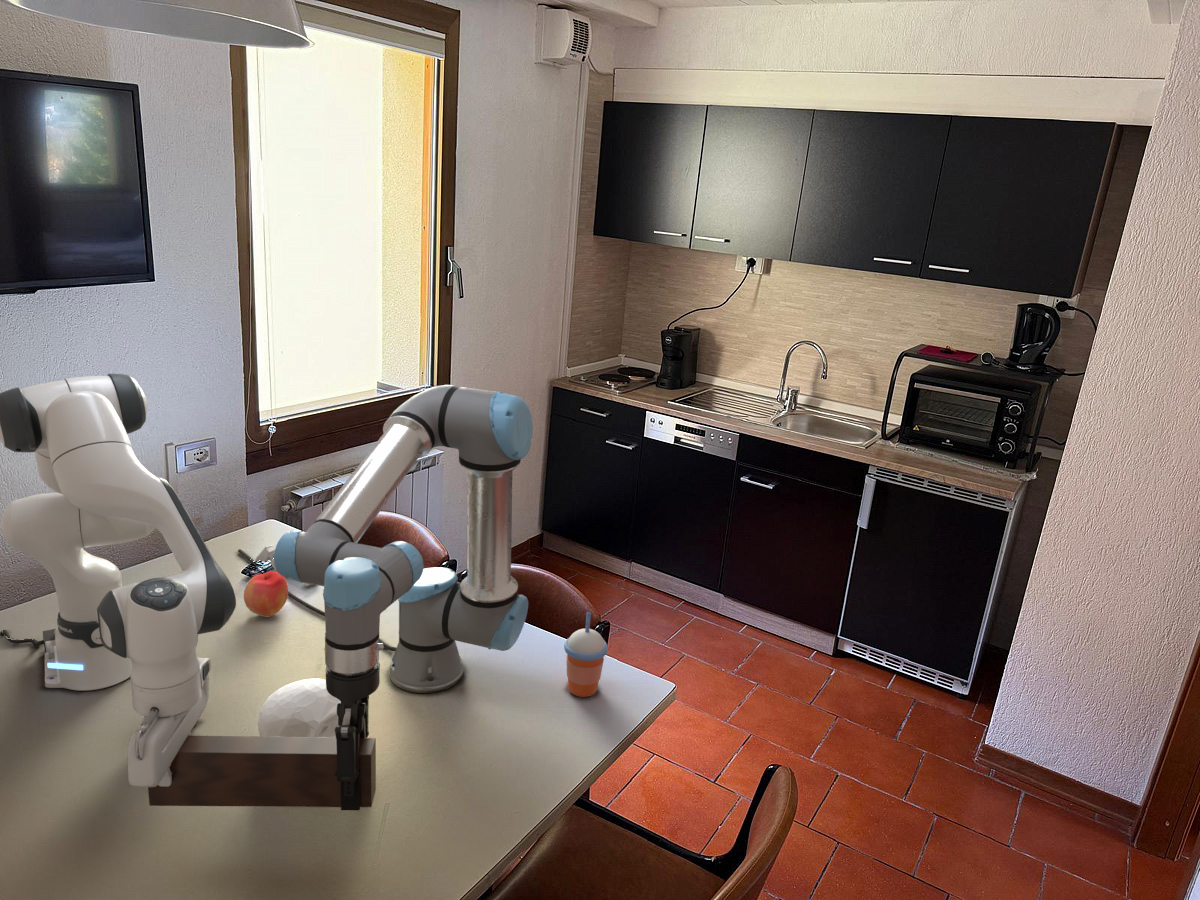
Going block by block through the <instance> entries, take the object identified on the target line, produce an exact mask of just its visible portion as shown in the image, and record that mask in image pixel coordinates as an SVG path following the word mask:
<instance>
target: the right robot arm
mask: <svg viewBox="0 0 1200 900" xmlns="http://www.w3.org/2000/svg"><path fill="white" fill-rule="evenodd" d="M533 426H534V425H533V417H532V412H531V410H530V407H529V405H528V403H526V401H525V400H524V399H523V398H522V397H520V396H518V395H514V394H509V393H506V392H504V391H494V390H487V389H478V388H470V387H465V386H464V387H463V386H458V385H453V384H444V385H436V386H433V387H430V388H427V389H425V390H422V391H421V392H418V393H417V394H414V395H413V396H411V397H410V398H409V399H407V400H405V402H403V403H401V404H400V405H399V406H398V407H397V408H396V409H395V410H393V412H392V413H391V414H390V415H389V417H388V418H387V420H386V421H385V422H384V424H383V426H382V432H383V434H382V435H381V436H380V437H379V439H378V440H377V441H376V443H375V444H374V445H373V446H372V448H371V449H369V451H368V453H367V454H366V455H365V457H364V458H363V459H362V460H361V462H360V463H359V464H358V466H357V467H356V468H355V469H354V470H353V472H352V473H351V474H350V475H349V477H348V478H347V479H346V481H345V482H344V483H343V485H342V486H341V487H340V488H339V490H338V491H337V492H336V494H335V495H334V496H333V497H332V499H331V500H330V501H329V503H328V504H327V505H326V506H325V508H323V510H322V511H321V513H320V514H319V515H318V517H317V518H316V519H315V521H313V523H312V524H311V525H310V526H309V527H308V529H307V530H306V531H304V530H295V529H293V530H290V531H288V532H285V533H284V534H282V535H281V537H280V538H279V540H278V541H277V543H276V544H275V545H276V548H275V552H274V559H273V560H274V565H275V567H276V570H277V572H278V573H279V574H280V575H282V576H284V577H285V578H287V579H289V580H293V581H296V582H299V583H301V584H304V583H310V584H311V585H314V586H315V585H316V586H320V587H323V590H322V598H323V602H324V603H323V604H324V605H323V606H324V610H321V609H319V608H317V607H315V606H313V605H311V604H310V603H308V602H306V601H304V600H303V599H301V598H300V597H297V595H295V594H293V593H292V592H291V591H289V590H288V597H289V598H291V599H292V600H294V601H295V602H297V603H299V604H300V605H302V606H304V607H305V608H307V609H308V610H310V611H312V612H314V613H316V614H318V615H320V616H322V617H323V618H324V624H325V633H324V635H325V636H324V663H325V680H326V689H327V691H328V693H329V694H330V695H332V696H333V697H335V698H337V699H339V700H340V701H341V702H338V704H337V715H338V725H336V728H335V735H336V743H337V771H336V773H335V777H337V781H341V807H340V811H343V812H344V811H349V812H351V811H352V812H353V811H355V812H357V811H358V812H359V811H360V810H361V807H360V771H358V767H359V738H369V736H370V732H369V701H370V696H371V695H372V694H373V693H375V692H376V691H377V690H378V688H379V685H380V680H381V679H380V672H381V671H380V669H381V668H380V667H381V666H380V665H381V664H380V661H379V660H380V651H382V650H384V649H385V650H388V651H390V652H394V653H393V656H392V659H391V660H390V666H389V679H390V681H391V682H392V683H393V684H394V685H395V686H396V687H398V688H399V689H401V690H404V691H407V692H410V693H416V694H430V693H431V694H432V693H438V692H441V691H445V690H447V689H450V688H451V687H453V686H455V685H456V684H457V683H458V682H459V681H460V680H461V679H462V676H463V672H464V664H463V660H462V657H461V656H460V653H459V649H458V646H457V642H460V643H464V644H469V645H473V646H476V647H477V646H478V647H482V648H485V649H486V648H487V649H488V650H496V651H503V652H505V651H508V650H510V649H511V648H513V647H514V645H515V644H516V643H517V641H518V639H519V637H520V635H521V633H522V631H523V628H524V626H525V622H526V619H527V615H528V611H529V610H528V609H529V600H528V598H527V596H525V595H524V594H519V583H518V581H517V580H516V578H515V577H513V576H512V529H513V528H512V526H513V525H512V523H513V519H512V518H513V471H514V470H515V469H516V468H518V467H519V466H520V464H521V462H522V461H521V460H523V459H524V458H526V456H528V454H529V452H530V450H531V446H532V439H533V435H534V434H533V432H534V429H533V428H534V427H533ZM437 447H445V448H449V449H456V450H458V463H459V465H460V466H461V467H462V468H463V469H465V470H466V512H467V513H466V515H467V520H466V522H467V525H466V526H467V528H466V531H467V533H466V534H467V535H466V536H467V539H466V540H467V576H466V577H464V579H462V580H461V582H460V581H458V580H459V579H458V578H459V577H458V575H457V572H456V571H454V570H453V569H451V568H448V567H441V566H440V567H437V566H433V567H426V568H425V565H424V559H423V557H422V554H421V553H420V551H419V550H418V548H416V547H415V546H414V545H413V544H411V543H409V542H406V541H403V540H396V541H393V542H391V543H388V544H386V545H383V547H379V546H378V547H377V546H373V545H368V544H363V543H358V542H359V541H360V540H361V539H362V537H363V536H364V534H365V533H366V531H367V530H368V529H369V527H370V526H371V524H373V522H374V520H375V519H376V517H378V515H379V513H380V512H381V510H382V509H383V508H384V506H385V505H386V504H387V502H388V501H389V499H390V498H391V497H392V495H393V494H394V493H395V491H397V488H398V487H399V486H400V484H401V483H402V482H403V480H404V479H405V477H406V476H407V474H408V473H409V472H410V470H411V469H412V468H413V466H414V465H415V463H416V462H417V461H418V459H422V458H424V457H426V456H428V454H429V453H430V452H431V451H432V449H433V448H437ZM237 552H238V553H239V554H240V555H241V556H243V557H244V559H246V560H247V561H248V562H250V563H251V564H252V563H254V562H253V561H255V559H253V558H252V557H251V556H250V555H248V554H247V553H246V552H245V551H244V550H243V549H241V548H239V549H237ZM251 558H252V559H251ZM250 559H251V560H250ZM397 600H398V643H397V645H396V646H392V645H389V644H387V643H386V642H384V641H383V640H382V639H381V638H380V627H381V626H380V625H381V624H380V623H381V622H380V621H381V618H380V617H381V614H382V613H383V612H384V611H385V610H387V609H388V608H389V607H390V606H392V605H393V604H394V603H395V602H397Z"/></svg>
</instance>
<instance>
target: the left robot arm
mask: <svg viewBox="0 0 1200 900" xmlns="http://www.w3.org/2000/svg"><path fill="white" fill-rule="evenodd" d="M147 413H148V401H147V397H146V394H145V392H144V391H143V389H142V387H141V386H140V385H139V383H138V381H137V379H135V378H134V377H132V376H130V375H129V374H127V373H126V374H125V373H108V374H107V375H86V376H84V375H83V376H75V377H66V378H64V379H60V380H53V381H47V382H42V383H38V384H33V385H30V386H26V387H23V388H20V387H18V386H17V387H14V388H10V389H8V390H4V391H2V392H0V442H1V443H2V444H3V446H4V448H6V449H8V450H10V451H12V452H14V453H34V456H35V460H36V461H35V462H36V466H37V471H38V475H39V478H40V479H41V481H42V482H43V483H44V485H46V487H48V488H49V489H50V490H52V491H53V492H47V493H38V494H33V495H29V496H25V497H22V498H18V499H14V500H12V501H11V502H10V503H9V504H8V505H7V506H6V508H4V509H5V510H4V511H3V512H2V515H1V519H0V530H1V533H2V536H3V538H4V540H5V541H6V543H7V544H8V545H9V546H10V547H11V548H13V549H14V550H15V551H18V552H21V553H23V554H25V555H27V556H28V557H31V558H32V559H33V560H36V561H37V563H39V564H40V565H41V567H43V568H44V569H45V570H46V571H47V573H48V574H49V576H50V577H51V580H52V582H53V586H54V589H55V595H56V599H57V604H58V613H57V618H56V624H57V627H56V628H52V629H47V630H46V629H45V630H42V640H39V641H38V640H37V639H35V638H31V639H28V638H23V639H24V640H19V639H16V640H11V639H7V638H6V637H5V636H7V637H8V638H10V637H11V635H10V633H9V632H8V630H6V629H3V630H1V631H0V636H4V635H5V636H4V637H5V639H6V640H7V641H8V642H9V643H12V644H16V645H18V644H19V645H20V644H25V643H27V644H28V643H31V644H32V647H33V648H35V649H38V648H40V647H41V646H42V645H43V647H44V687H45V688H47V689H66V690H71V691H83V692H85V691H95V690H101V689H104V688H105V689H106V688H109V687H111V686H115V685H117V684H120V683H122V682H124V681H126V680H127V679H129V678H130V687H131V698H132V708H133V709H134V711H135V712H136V713H137V714H138V715H140V716H143V719H142V720H141V721H140V723H139V724H138V726H137V727H136V729H135V730H134V731H133V733H132V734H131V736H130V738H129V740H128V741H129V742H128V746H127V776H128V777H127V779H128V783H129V785H130V786H132V787H134V788H148V787H156V786H157V785H159V786H170V785H171V783H172V781H173V780H174V770H170V768H169V767H170V766H171V763H172V761H173V760H174V758H175V756H176V755H177V753H178V751H179V750H180V748H181V747H182V745H183V743H184V742H185V740H186V738H187V737H188V735H191V734H192V731H193V728H194V727H195V725H196V724H197V723H198V722H197V720H199V719H200V717H201V716H202V714H203V713H204V711H205V709H206V708H207V705H208V701H209V693H210V692H209V690H210V689H209V688H210V687H209V681H210V680H209V672H210V671H211V668H212V667H211V658H209V657H201V656H200V657H199V656H197V653H196V652H197V651H196V650H197V646H198V641H199V640H198V639H199V637H198V635H203V634H207V633H211V632H216V631H220V630H221V629H222V628H223V627H224V626H225V625H226V623H227V622H228V621H229V620H230V618H231V617H232V615H233V614H234V612H235V610H236V607H237V598H236V593H235V591H234V588H233V585H232V583H231V581H230V579H229V577H228V576H227V574H226V573H225V571H224V570H223V569H222V568H221V566H220V565H219V564H218V562H217V561H216V559H215V558H214V556H213V555H212V553H211V551H210V549H209V548H208V546H207V544H206V543H205V540H204V538H203V536H202V535H201V534H200V532H199V530H198V528H197V526H196V525H195V523H194V521H193V519H192V518H191V515H190V514H189V512H188V510H187V509H186V507H185V505H184V504H183V501H182V500H181V499H180V497H179V496H178V494H177V492H176V491H175V489H174V488H173V486H172V485H171V484H170V483H169V482H168V480H167V479H166V478H162V477H159V476H156V475H155V474H153V473H151V472H150V471H149V470H148V469H147V468H146V467H145V466H144V465H143V464H142V463H141V462H140V460H139V459H138V458H137V455H136V454H135V452H134V448H133V445H132V443H131V440H130V437H129V434H132V433H134V432H136V431H139V430H141V429H142V427H143V426H144V425H145V423H146V421H147ZM154 529H156V530H157V531H159V532H160V534H161V535H162V537H163V539H164V541H165V543H166V545H167V546H168V547H169V550H170V551H171V553H172V555H173V557H174V558H175V560H176V562H177V565H178V566H179V568H180V569H181V572H178V573H174V574H170V575H166V576H162V577H161V576H160V577H153V578H152V577H151V578H149V579H148V578H147V579H145V580H142V581H139V582H138V581H137V582H133V583H130V584H126V585H123V582H122V581H123V580H122V573H121V571H120V569H119V568H118V566H117V565H116V564H115V563H113V562H112V561H110V560H108V559H106V558H102V557H99V556H96V555H93V554H91V553H89V552H87V551H86V550H85V548H92V547H102V546H113V545H122V544H123V545H124V544H126V543H130V542H134V541H138V540H140V539H144V538H147V537H149V536H150V535H151V534H152V532H153V531H154ZM2 631H3V633H2ZM11 638H12V639H14V638H13V637H11ZM32 639H33V640H32ZM196 722H197V723H196Z"/></svg>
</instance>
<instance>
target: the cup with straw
mask: <svg viewBox="0 0 1200 900" xmlns="http://www.w3.org/2000/svg"><path fill="white" fill-rule="evenodd" d="M591 616H592V613H591V611H587V612H586V617H585V628H580V629H577V630H575V631H574V632H573V633H572V634H571V635H570V636H569V637H568V638H567V639H566V640H565V641H564V645H563V650H564V652H565V653H566V655H565V656H566V660H565V661H566V678H567V690H568V691H569V692H570V693H571V694H572V695H573V696H576V697H582V698H586V697H591V696H594V695H595V694H596V693H597V691H598V687H599V681H600V680H601V676H602V671H603V666H604V661H605V658H604V657H605V656H606V655H607V654H608V651H609V649H608V644H607V642H606V640H604V637H602V635H601V634H600V633H599V632H598V631H596V630H595V629H592V628H591V618H592V617H591Z"/></svg>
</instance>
